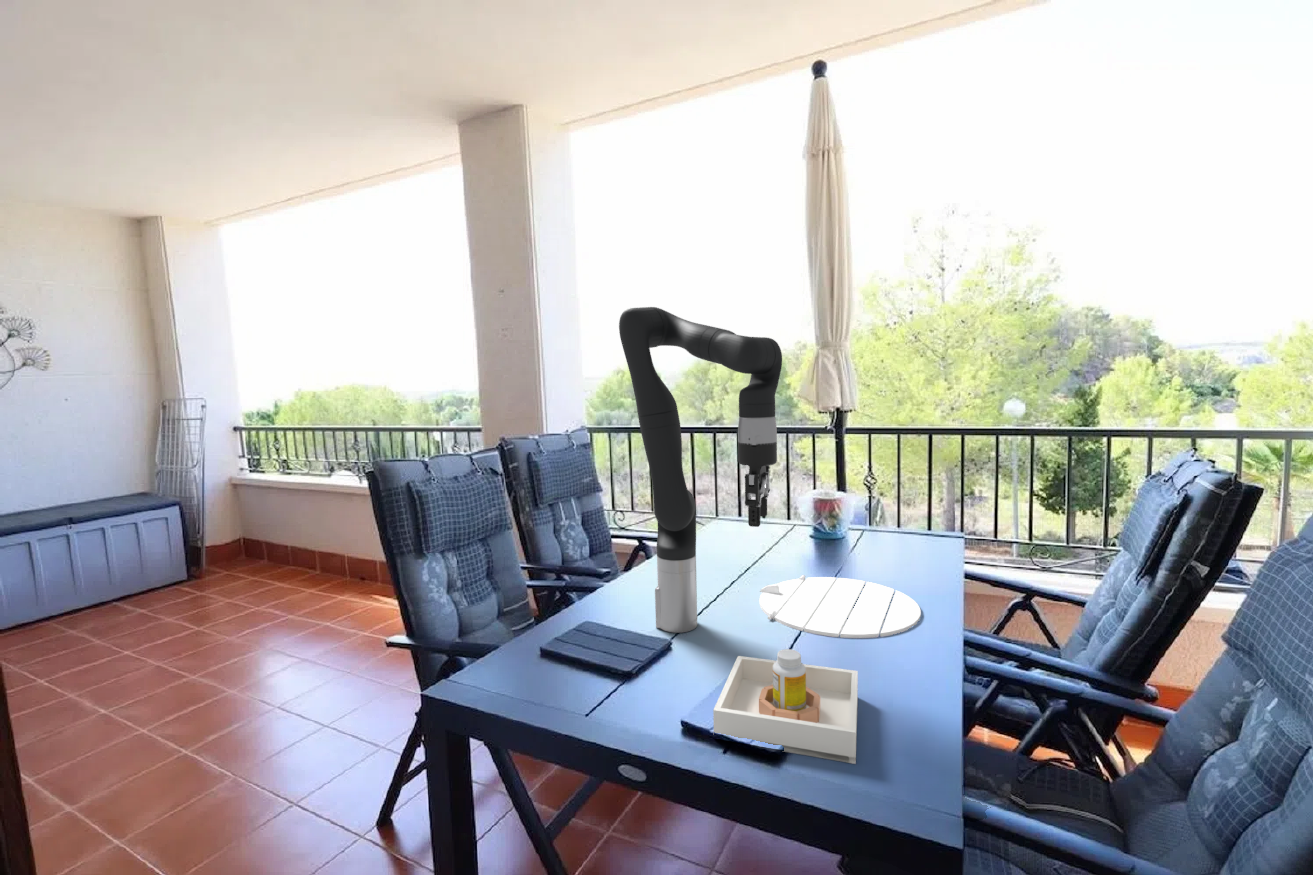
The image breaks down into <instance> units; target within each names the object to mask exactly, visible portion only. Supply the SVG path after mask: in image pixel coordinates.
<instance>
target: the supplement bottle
mask: <svg viewBox="0 0 1313 875" xmlns="http://www.w3.org/2000/svg"><path fill="white" fill-rule="evenodd" d="M776 657H777V658H776V660H775V661H776V662H775V663H774V664H773V706H774V707H775V708H777V709H784V710H790V711H800V710H803V709H806V668H805V666H804V664H805V663H802V655H801V652H799V651H797V650H795V649H791V648H789V649H788V648H785V649H780V650H779V651H778V652H777V656H776Z"/></svg>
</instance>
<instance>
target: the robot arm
mask: <svg viewBox="0 0 1313 875" xmlns="http://www.w3.org/2000/svg"><path fill="white" fill-rule="evenodd" d="M618 329H619V338H620V342H621V347H622V350H623V352H624V356H625V359H626V360H625V361H626V364H627V368H628V371H629V374H630V375H629V376H630V378H631V384H632V389H633V392H634V393H633V394H634V400H635V403H636V411H637V416H638V417H637V418H638V423H639V424H638V425H639V430H640V434H641V437H642V438H641V439H642V443H643V446H644V447H643V448H644V450H645V451H644V452H645V456H646V459H647V463H648V466H649V470H650V471H649V472H650V475H651V482H652V483H651V484H652V495H653V496H652V497H653V513H654V516H655V518H656V520H657V538H656V540H657V541H656V565H657V566H656V569H657V571H656V572H657V586H656V587H655V589H654V599H655V600H654V601H655V602H654V604H655V628H657V629H661V630H663V631H665V632H667V633H668V632H669V633H677V634H678V633H679V634H680V633H687V632H690V631H693V630H695V629H696V628H697V627H698V592H697V589H698V588H697V582H698V581H697V509H696V508H697V507H696V501H695V498H694V495H693V493H692V492H691V491H690V490H689V489H688V487H687V482H686V478H685V474H684V470H683V446H682V444H683V442H682V427H681V422H680V415H679V410H678V404H677V401H676V399H675V397H674V395H673V394H672V392H671V391H670V389H669V388H668V387H667V386H666V384H665V383H664V381H663V380H662V378H661V377H660V376H659V374H658V372H657V371H656V369H655V366H654V363H653V359H652V355H651V348H652V349H653V348H657V347H662V346H663V347H664V346H665V347H667V346H669V347H679V348H682V349H684V350H685V351H686V352H688V353H689V354H690V355H691V356H693V357H695V358H698V359H701V360H704V361H707V362H711V363H714V364H717V365H722V366H724V367H725V368H727V369H730V370H731V371H734V372H736V373H740V374H745V375H750V379H749V382H748V383H749V384H748V385H747V386H746V387H743V388H741V389H740V391H739V393H738V394H739V395H738V426H737V445H738V446H737V448H738V449H737V455H738V456H737V458H738V460H737V461H738V464H740V465H742V466H747V467H748V468H749V469H748V473H745V474H744V505H745V507H747V510H748V511H747V512H748V513H747V516H748V517H747V519H748V523H747V524H748V526H749V527H753V528H754V527H757V528H758V527H760V526H761V517H763V518H765V517H767V516H768V498H769V497H770V496H769V493H770V491H771V489H770V466H773V465H776V463H777V462H778V435H777V434H778V432H777V431H778V428H777V422H776V391H777V389H778V385H779V380H780V376H781V371H782V366H783V353H782V349H781V347H780V345H779V343H778V342H777V341H776V340H775V339H774V338H770V337H766V336H765V337H760V336H759V337H758V336H747V335H740V334H737V333H735V332H733V331H731V330H728V329H725V328H721V327H716V326H713V325H711V326H710V325H707V324H701V323H697V322H692V321H690V320H687V319H684V318H682V317H679V316H677V315H675V314H674V313H671V312H669V311H667V310H664V309H663V308H659V307H655V306H648V307H647V306H644V307H630V308H627V309H625V310H624V311H623V312H622V313H621V315H620V317H619V321H618ZM752 498H755V499H752Z"/></svg>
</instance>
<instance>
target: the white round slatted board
mask: <svg viewBox="0 0 1313 875" xmlns="http://www.w3.org/2000/svg"><path fill="white" fill-rule="evenodd" d="M865 583H866V584H865ZM864 585H865V586H864ZM863 587H864V588H863ZM861 591H862V592H861ZM894 591H895V592H894ZM759 592H760V593H761V594H760V596H759V599H758V600H759V607H760V609H761V611H762V612H763V613H764V614H765V615H767V619H768V620H769V621H770V620H773V621H775V622H777V623H778V624H781V625H783V626H786V627H788V628H791V629H793V630H796V631H797V630H798V631H800V632H803V631H804V632H805V633H809V634H813V635H817V636H823V637H824V636H825V637H833V638H839V637H840V638H841V639H844V638H845V639H872V638H873V639H875V638H878V637H879V636H880V637H881V638H883V637H888V636H889V637H890V636H894V635H897V633H898V634H901V633H903V632H906V631H908V629H909V628H911V627H912V626H914V625H915V626H916V625H917V624H918V623H919V622H920V620H921V618H920V617H922V610H921V608H920V606H919V603H917V602H916V601H915V599H913V598H911V596H909V595H907V594H905V593H903V592H902V591H899V590H895V589H894V588H892V587H889V586H885V585H883V584H880V583H875V582H871V581H865V580H861V579H855V578H846V577H835V576H832V577H831V576H815V577H814V576H813V577H811V576H810V577H809V576H808V577H806V575H804V574H802V575H801V576H800V577H799V578H795V579H789V580H783V581H781V582H778V583H777V582H776V583H774V584H767V585H766V586H764V587H762V588H760V590H759ZM860 593H861V594H860ZM893 594H894V595H893ZM858 597H859V598H858ZM892 597H893V598H892ZM857 599H858V600H857ZM891 599H892V601H891ZM856 601H857V602H856ZM890 602H891V603H890ZM855 603H856V604H855ZM854 605H855V606H854ZM889 605H890V606H889ZM853 607H854V608H853ZM888 608H889V609H888ZM886 613H887V614H886ZM847 618H848V619H847ZM884 619H885V620H884ZM919 619H920V620H919ZM918 621H919V622H918ZM917 622H918V623H917ZM915 626H914V627H915ZM881 627H882V628H881ZM912 628H913V627H912ZM912 628H911V629H912ZM909 630H910V629H909ZM900 632H901V633H900ZM893 634H894V635H893Z"/></svg>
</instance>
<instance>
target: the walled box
mask: <svg viewBox="0 0 1313 875" xmlns="http://www.w3.org/2000/svg"><path fill="white" fill-rule="evenodd" d="M776 661H777V660H773V659H767V658H766V659H765V658H758V657H752V656H751V657H750V656H743V655H737V657H736V659H735V662H734V664H733V665H732V668H731V670H730V673H729V675H728V677H727V679H726V681H725V684H724V686H723V688H722V690H721V692H720V695H719V696H718V699H717V701H716V703H715V705H714V708H713V709H712V710H713V711H712V712H713V713H712V714H713V716H712V717H713V718H712V719H713V733H714V732H715V733H721V734H726V735H731V736H734V737H738V738H747V739H752V740H756V741H760V742H765V743H768V744H773V745H782V746H783V747H784V751H783V752H785V753H791V754H797V755H803V756H806V757H807V756H809V757H813V758H818V759H825V760H831V761H836V762H842V763H849V764H853V765H856V764H857V762H856V761H857V733H858V732H857V729H858V728H857V727H858V696H859V695H858V693H859V692H858V691H859V690H858V688H859V687H858V686H859V680H858V679H859V674H858V672H859V671H858V670H854V669H853V670H852V669H845V668H837V667H830V666H820V665H813V664H805V663H803V664H804V666H805V668H806V709H803V710H800V711H790V710H784V709H777V708H775V707H774V706H773V664H774V663H775V662H776Z"/></svg>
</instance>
